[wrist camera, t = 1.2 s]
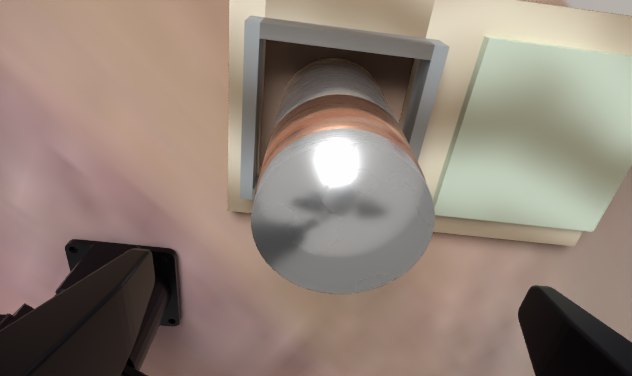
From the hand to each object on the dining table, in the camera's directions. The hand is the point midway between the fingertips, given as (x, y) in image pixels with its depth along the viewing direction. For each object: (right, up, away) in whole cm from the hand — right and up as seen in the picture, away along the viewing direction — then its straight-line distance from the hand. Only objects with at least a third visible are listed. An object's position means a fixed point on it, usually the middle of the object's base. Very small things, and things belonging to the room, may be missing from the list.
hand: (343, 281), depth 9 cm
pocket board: (+5, +6, +11) cm, 13 cm away
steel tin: (0, +6, +11) cm, 12 cm away
